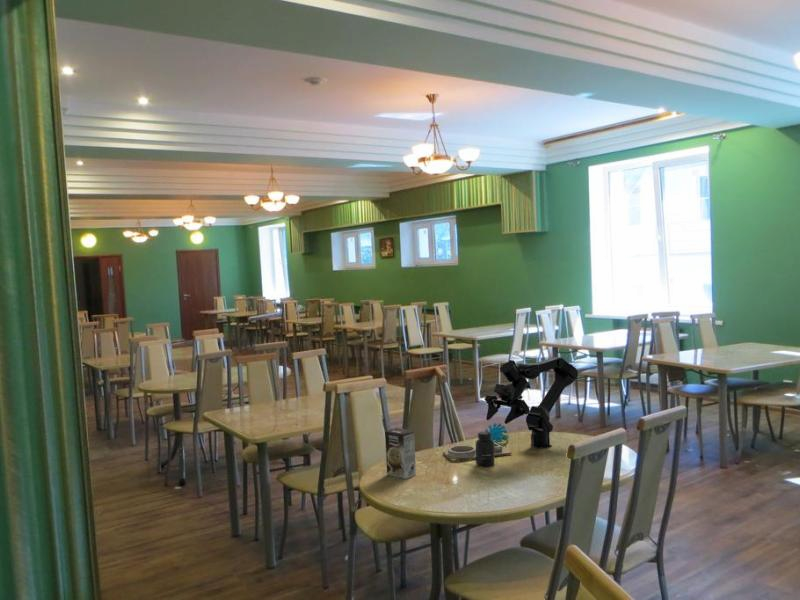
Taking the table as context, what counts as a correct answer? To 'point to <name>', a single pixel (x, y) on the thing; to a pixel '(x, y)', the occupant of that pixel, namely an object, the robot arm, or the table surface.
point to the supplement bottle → (485, 450)
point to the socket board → (505, 452)
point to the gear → (497, 433)
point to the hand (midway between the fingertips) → (496, 421)
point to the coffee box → (400, 453)
